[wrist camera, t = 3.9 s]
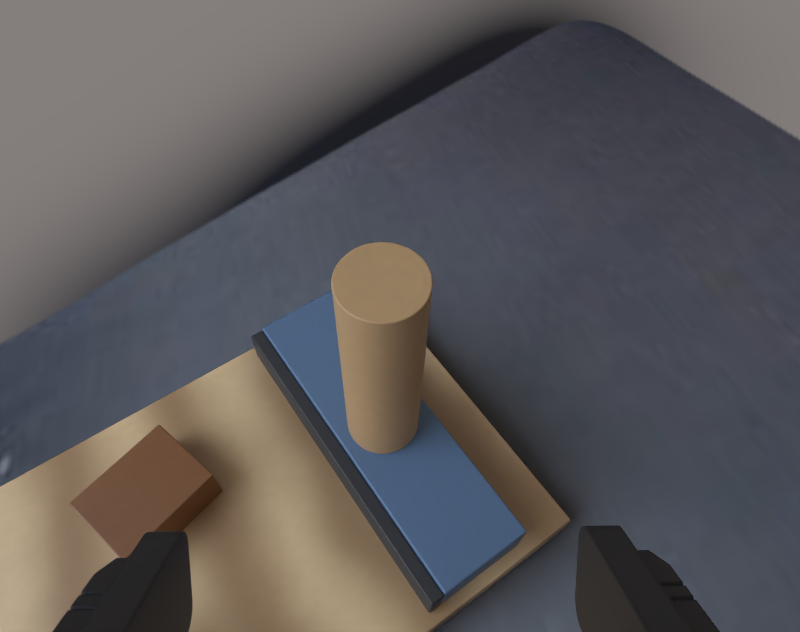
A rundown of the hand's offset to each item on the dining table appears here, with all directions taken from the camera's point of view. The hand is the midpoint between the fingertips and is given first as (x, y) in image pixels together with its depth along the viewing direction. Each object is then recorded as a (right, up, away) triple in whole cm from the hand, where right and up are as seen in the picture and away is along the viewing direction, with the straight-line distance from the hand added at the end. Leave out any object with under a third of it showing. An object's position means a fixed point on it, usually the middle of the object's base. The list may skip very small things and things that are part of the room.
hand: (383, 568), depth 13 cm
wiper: (0, 0, +16) cm, 16 cm away
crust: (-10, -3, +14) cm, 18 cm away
